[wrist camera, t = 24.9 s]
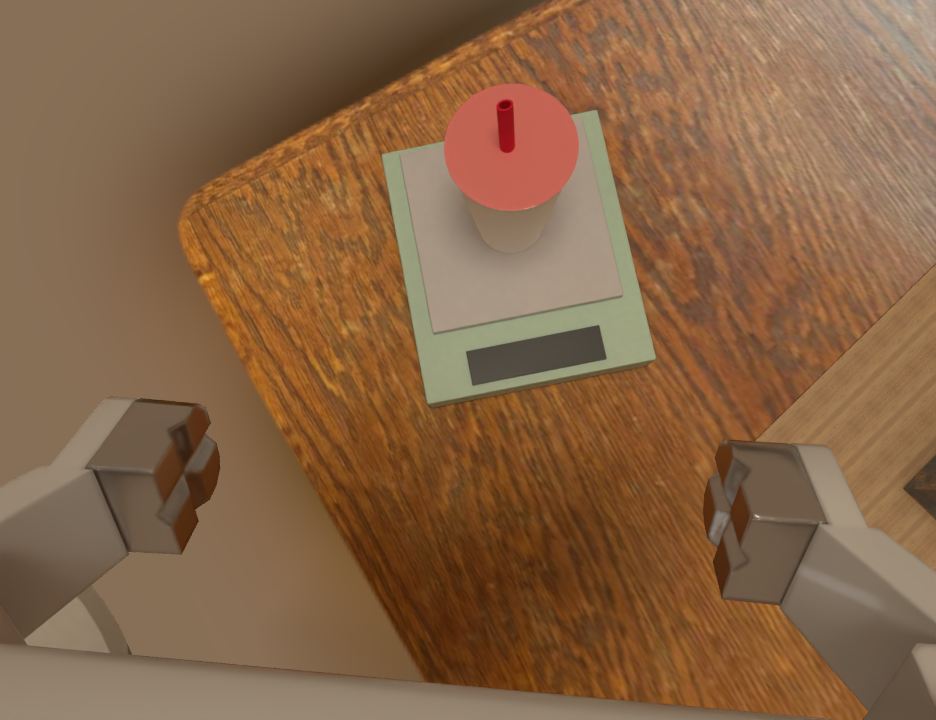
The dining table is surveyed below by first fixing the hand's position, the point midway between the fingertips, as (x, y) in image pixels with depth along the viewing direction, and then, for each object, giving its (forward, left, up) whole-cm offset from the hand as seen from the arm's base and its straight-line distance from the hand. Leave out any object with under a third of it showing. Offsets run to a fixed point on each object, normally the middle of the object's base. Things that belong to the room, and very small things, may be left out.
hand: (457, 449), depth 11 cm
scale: (+3, +10, -27) cm, 29 cm away
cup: (+3, +12, -24) cm, 27 cm away
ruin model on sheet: (+26, -4, -27) cm, 38 cm away
